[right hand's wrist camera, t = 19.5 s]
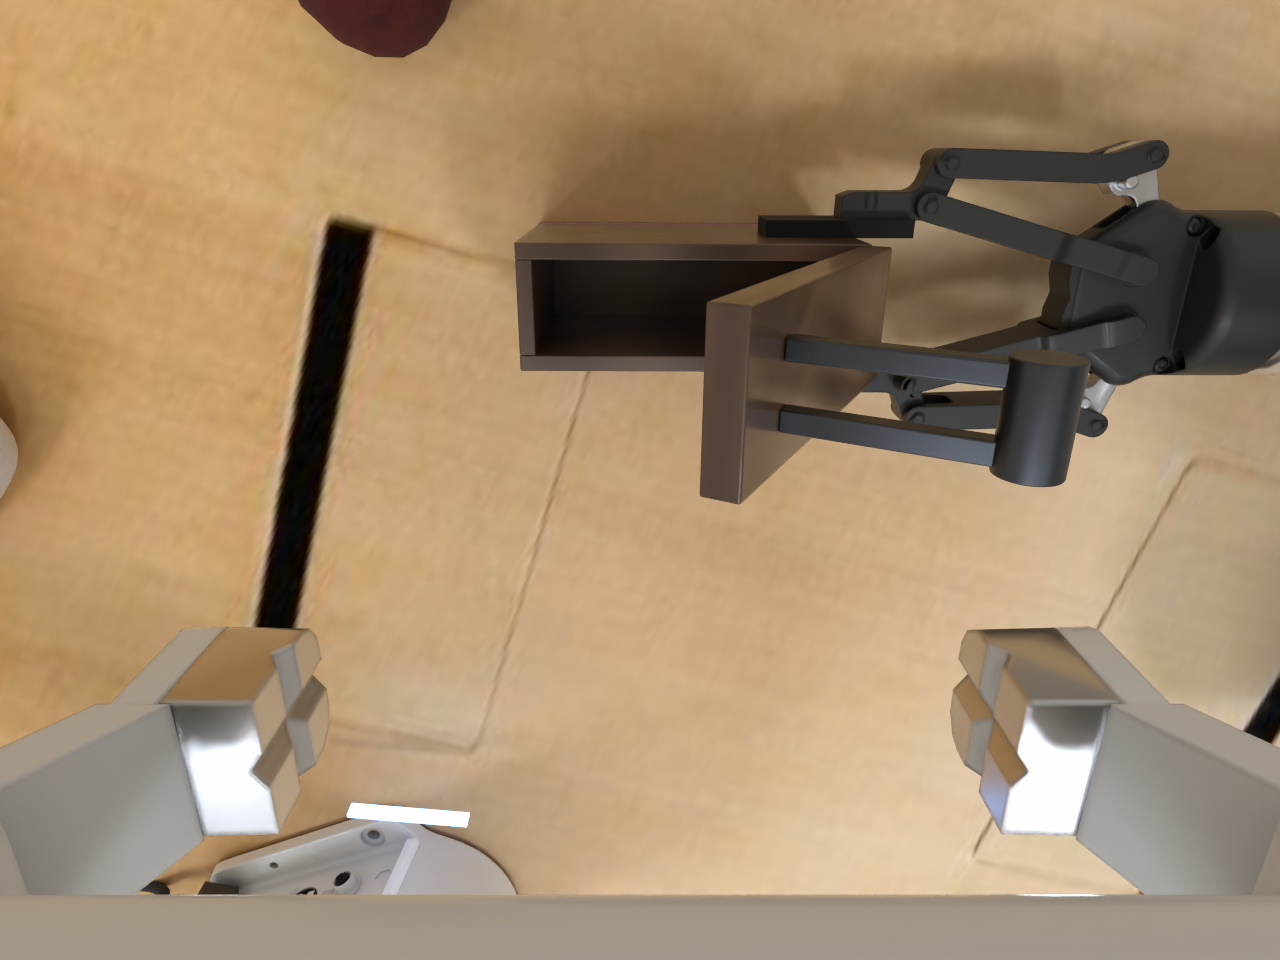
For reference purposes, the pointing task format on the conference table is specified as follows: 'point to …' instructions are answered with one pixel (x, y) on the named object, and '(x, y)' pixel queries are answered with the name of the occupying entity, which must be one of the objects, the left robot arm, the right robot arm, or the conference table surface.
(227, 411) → the conference table surface
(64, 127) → the conference table surface
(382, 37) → the potato
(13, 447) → the grey slotted rounded block
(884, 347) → the lid
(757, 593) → the conference table surface
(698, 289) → the chest
